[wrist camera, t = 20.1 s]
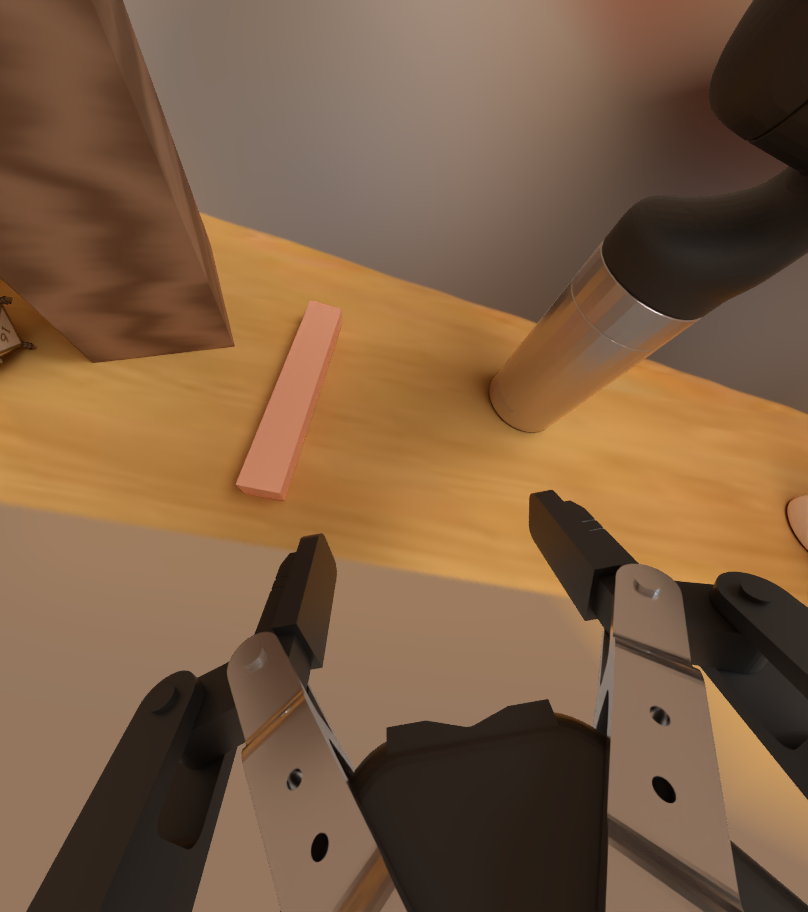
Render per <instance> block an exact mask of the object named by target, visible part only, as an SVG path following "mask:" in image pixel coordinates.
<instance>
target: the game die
mask: <svg viewBox="0 0 808 912" xmlns="http://www.w3.org/2000/svg"><path fill="white" fill-rule="evenodd" d="M11 301H12V298H10V297H6V296H2V297H0V357H2V356H4V355H5V354H7V353H9V352H11V351H13V350H14V349H16V348H18V347H20V346H25V347H26V348H29V349H33V348H37V347H36V346H34V345H33V344H32V343H28V342H22V340H21V338H20V337H19V335H18V333H17V331H16V329H15V327H14V325H13V323H12V322H11V320H10V318H9V316H8V314H7V312H6V310H5V308H4V307H3V305H2V304H7V305H8V303H10V304H11ZM0 363H3V358H0Z"/></svg>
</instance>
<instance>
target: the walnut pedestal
mask: <svg viewBox="0 0 808 912" xmlns="http://www.w3.org/2000/svg"><path fill="white" fill-rule="evenodd" d="M0 278H1V279H2V280H4V281H5V282H6V283H7V284H8V285H9V286H10V287H11V288H12V289H13V290H14V291H15V292H17V293H18V294H19V295H20V296H21V297H22V298H23V299H24V300H25V301H26V302H27V303H29V304H30V305H31V306H32V307H33V308H34V309H35V310H36V311H37V312H38V313H39V314H41V315H42V316H43V317H44V318H45V319H46V320H47V321H48V322H49V323H50V324H51V325H53V326H54V327H55V328H56V329H57V330H58V331H59V332H60V333H61V334H62V335H63V336H65V337H66V338H67V339H68V340H69V341H70V342H71V343H72V344H73V345H74V346H75V347H77V348H78V349H79V350H80V351H81V352H82V353H83V354H84V355H85V356H86V357H87V358H89V359H90V360H91V361H92V362H93V363H95V362H104V361H112V360H121V359H129V358H138V357H146V356H155V355H163V354H172V353H180V352H189V351H197V350H206V349H215V348H223V347H232V346H234V342H233V338H232V334H231V330H230V325H229V321H228V317H227V313H226V308H225V304H224V300H223V296H222V291H221V287H220V283H219V279H218V274H217V270H216V266H215V262H214V257H213V253H212V249H211V245H210V242H209V239H208V236H207V233H206V231H205V228H204V225H203V222H202V219H201V217H200V214H199V211H198V208H197V205H196V203H195V200H194V197H193V194H192V192H191V189H190V186H189V183H188V180H187V178H186V175H185V172H184V169H183V166H182V164H181V161H180V159H179V156H178V153H177V150H176V147H175V144H174V141H173V139H172V136H171V133H170V130H169V128H168V125H167V122H166V119H165V116H164V114H163V111H162V108H161V105H160V102H159V100H158V97H157V94H156V92H155V89H154V86H153V83H152V80H151V77H150V75H149V72H148V69H147V66H146V63H145V61H144V58H143V55H142V52H141V50H140V47H139V44H138V41H137V38H136V36H135V33H134V30H133V28H132V24H131V22H130V19H129V16H128V13H127V11H126V8H125V5H124V2H123V0H0Z"/></svg>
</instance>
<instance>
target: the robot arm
mask: <svg viewBox="0 0 808 912" xmlns="http://www.w3.org/2000/svg"><path fill="white" fill-rule="evenodd" d="M708 100H709V105H710V108H711V110H712V111H713V113H714V114H715V116H716V117H717V118H718V120H719V121H720V122H721V123H722V124H723V125H724V126H725V127H727V128H728V129H729V130H730V131H732V132H733V133H735V134H736V135H738V136H739V137H741V138H742V139H744V140H748V142H749V143H751V144H752V145H754V146H756V147H758V148H759V149H761V150H763V151H764V152H766V153H768V154H770V155H771V156H773V157H775V158H776V159H778V160H780V161H782V162H784V163H785V164H787V165H789V167H787V168H786V169H785V170H783V171H782V172H781V173H779V174H778V175H777V176H775V177H773V178H772V179H770V180H768V181H767V182H765V183H762V184H760V185H758V186H755V187H752V188H749V189H746V190H742V191H738V192H733V193H728V194H723V195H715V196H679V195H656V196H651V197H647V198H645V199H642V200H640V201H639V202H637V203H636V204H635V205H633V206H632V207H631V208H630V209H629V210H628V211H627V212H626V213H625V214H624V215H623V217H622V218H621V219H620V220H619V221H618V223H617V224H616V225H615V226H614V228H613V229H612V230H611V231H610V233H609V234H608V235H607V236H606V238H605V240H604V241H603V242H602V243H601V244H600V245H599V247H598V248H597V249H596V250H595V252H594V253H593V254H592V255H591V257H590V258H589V259H588V261H587V262H586V263H585V264H584V265H583V267H582V268H581V269H580V271H579V272H578V273H577V274H576V276H575V277H574V278H573V280H572V281H571V282H570V283H569V285H568V286H567V287H566V289H565V290H564V291H563V292H562V293H561V295H560V296H559V297H558V299H557V300H556V301H555V302H554V303H553V305H552V306H551V307H550V308H549V310H548V311H547V312H546V313H545V315H544V316H543V317H542V318H541V320H540V321H539V322H538V323H537V325H536V326H535V327H534V328H533V330H532V331H531V332H530V333H529V335H528V336H527V337H526V338H525V340H524V341H523V342H522V343H521V345H520V346H519V347H518V348H517V350H516V351H515V352H514V353H513V355H512V356H511V357H510V358H509V359H508V361H507V362H506V363H505V364H504V366H503V367H502V368H501V369H500V371H499V372H498V373H497V374H496V376H495V377H494V378H493V380H492V381H491V384H490V389H489V395H490V400H491V403H492V405H493V407H494V409H495V410H496V412H497V414H498V415H499V416H500V417H501V418H502V419H503V420H504V421H505V422H507V423H508V424H509V425H511V426H513V427H514V428H516V429H519V430H522V431H526V432H539V431H542V430H544V429H546V428H547V427H549V426H550V425H552V424H553V423H555V422H556V421H557V420H559V419H560V418H562V417H563V416H564V415H566V414H567V413H569V412H570V411H572V410H573V409H574V408H576V407H577V406H579V405H580V404H582V403H583V402H584V401H586V400H587V399H589V398H590V397H591V396H593V395H594V394H596V393H597V392H598V391H600V390H601V389H603V388H604V387H605V386H607V385H608V384H610V383H611V382H612V381H614V380H615V379H617V378H618V377H619V376H621V375H622V374H624V373H625V372H626V371H628V370H629V369H631V368H632V367H634V366H635V365H636V364H638V363H639V362H641V361H642V360H643V359H645V358H646V357H648V356H649V355H650V354H652V353H653V352H654V351H656V350H657V349H659V348H660V347H661V346H663V345H664V344H665V343H667V342H668V341H670V340H671V339H672V338H674V337H675V336H676V335H678V334H680V333H681V332H682V331H684V330H685V329H686V328H688V327H689V326H691V325H692V324H694V323H695V322H696V321H698V320H699V319H700V318H701V317H703V316H705V315H706V314H708V313H709V312H710V311H712V310H713V309H715V308H716V307H718V306H719V305H721V304H722V303H724V302H725V301H727V300H729V299H731V298H733V297H735V296H737V295H739V294H741V293H743V292H746V291H748V290H750V289H751V288H753V287H755V286H757V285H759V284H760V283H762V282H764V281H765V280H767V279H769V278H770V277H772V276H773V275H775V274H776V273H778V272H779V271H781V270H782V269H784V268H785V267H787V266H789V265H790V264H792V263H793V262H795V261H796V260H797V259H799V258H801V257H802V256H804V255H805V254H806V253H808V0H753V2H752V3H751V5H750V6H749V8H748V9H747V11H746V12H745V14H744V16H743V17H742V19H741V20H740V22H739V24H738V25H737V27H736V29H735V30H734V32H733V34H732V35H731V37H730V39H729V41H728V42H727V44H726V46H725V48H724V50H723V52H722V54H721V56H720V58H719V61H718V63H717V65H716V68H715V70H714V72H713V75H712V78H711V82H710V87H709V94H708ZM529 529H530V533H531V536H532V538H533V540H534V542H535V543H536V545H537V547H538V548H539V550H540V551H541V553H542V554H543V556H544V558H545V559H546V561H547V562H548V564H549V565H550V567H551V568H552V570H553V572H554V573H555V575H556V576H557V578H558V579H559V581H560V583H561V584H562V586H563V587H564V589H565V590H566V592H567V594H568V595H569V597H570V598H571V600H572V601H573V603H574V604H575V606H576V608H577V609H578V611H579V612H580V614H581V616H582V617H583V619H584V620H585V621H587V620H593V619H598V620H599V621H600V623H601V624H602V626H603V627H604V628H603V634H602V645H601V657H600V658H601V659H600V670H599V682H598V693H597V700H596V707H595V714H594V721H593V727H592V726H590V725H588V724H586V723H584V722H583V721H580V720H578V719H576V718H573V717H570V716H567V715H564V714H560V713H554V712H553V710H552V707H551V705H550V703H549V700H548V699H546V700H540V701H535V702H529V703H523V704H518V705H512V706H507V707H506V708H504V709H502V710H500V711H499V712H497V713H495V714H493V715H491V716H490V717H488V718H486V719H484V720H483V721H481V722H479V723H477V724H475V725H474V726H471V727H462V726H456V725H450V724H444V723H437V722H430V721H422V722H415V723H410V724H404V725H399V726H393V727H388V728H387V742H385V743H383V744H381V745H380V746H379V747H377V748H376V749H375V750H373V751H372V752H371V753H370V754H369V755H368V756H367V757H366V758H365V759H364V760H363V761H362V762H361V764H360V765H359V766H358V767H357V769H356V770H354V767H353V766H352V764H351V762H350V760H349V758H348V757H347V755H346V753H345V751H344V750H343V748H342V746H341V745H340V743H339V741H338V739H337V738H336V736H335V734H334V732H333V730H332V728H331V726H330V724H329V722H328V721H327V718H326V717H325V715H324V713H323V711H322V709H321V707H320V705H319V703H318V701H317V699H316V697H315V695H314V694H313V692H312V690H311V688H310V686H309V684H308V680H309V675H310V670H311V669H316V668H322V666H323V660H324V654H325V647H326V641H327V634H328V628H329V621H330V615H331V608H332V602H333V596H334V590H335V583H336V576H337V570H336V563H335V560H334V558H333V555H332V553H331V550H330V548H329V546H328V543H327V541H326V538H325V536H324V535H323V534H322V533H320V534H315V535H310V536H305V537H302V538H301V540H300V543H299V546H298V549H297V552H294V553H290V554H289V555H288V556H287V558H286V559H285V560H284V561H283V563H282V564H281V566H280V568H279V570H278V573H277V576H276V580H275V581H274V584H273V587H272V591H271V592H270V594H269V597H268V600H267V602H266V605H265V608H264V610H263V613H262V616H261V618H260V621H259V624H258V627H257V629H256V632H255V634H254V635H253V636H251V637H250V638H248V639H247V640H246V641H245V642H243V643H242V644H241V645H240V646H239V647H238V649H237V650H236V651H235V652H234V654H233V655H232V657H231V659H230V661H229V662H228V663H226V664H224V665H222V666H220V667H218V668H216V669H214V670H212V671H210V672H208V673H206V674H204V675H202V676H200V677H198V678H197V677H195V675H193V674H192V673H191V672H189V671H179V672H176V673H174V674H171V675H170V676H168V677H166V678H165V679H163V680H162V681H161V682H160V683H158V684H157V685H156V686H155V687H154V688H153V689H152V690H151V691H150V692H149V693H148V694H147V696H146V697H145V698H144V700H143V701H142V702H141V704H140V705H139V707H138V709H137V711H136V713H135V715H134V716H133V718H132V720H131V722H130V724H129V725H128V727H127V729H126V731H125V733H124V734H123V736H122V738H121V740H120V742H119V744H118V745H117V747H116V749H115V751H114V753H113V754H112V756H111V758H110V760H109V762H108V764H107V765H106V767H105V769H104V771H103V773H102V775H101V776H100V778H99V780H98V782H97V784H96V786H95V787H94V789H93V791H92V793H91V795H90V796H89V799H88V800H87V802H86V804H85V806H84V808H83V809H82V811H81V813H80V815H79V817H78V819H77V820H76V822H75V824H74V826H73V827H72V829H71V831H70V833H69V835H68V837H67V839H66V840H65V842H64V844H63V846H62V848H61V849H60V851H59V853H58V855H57V857H56V858H55V860H54V862H53V864H52V866H51V868H50V869H49V871H48V873H47V875H46V877H45V879H44V881H43V882H42V884H41V886H40V888H39V890H38V892H37V893H36V895H35V897H34V899H33V901H32V902H31V904H30V906H29V908H28V910H27V912H192V909H193V905H194V902H195V898H196V894H197V891H198V887H199V884H200V880H201V877H202V873H203V869H204V866H205V862H206V858H207V854H208V851H209V848H210V844H211V840H212V837H213V833H214V829H215V826H216V822H217V818H218V815H219V811H220V808H221V804H222V801H223V797H224V793H225V790H226V786H227V782H228V779H229V775H230V772H231V768H232V764H233V761H234V757H235V754H236V749H237V746H239V745H241V744H243V743H244V742H246V747H245V748H244V749H243V750H242V762H243V767H244V771H245V775H246V779H247V782H248V786H249V790H250V794H251V798H252V801H253V805H254V809H255V813H256V817H257V821H258V825H259V828H260V832H261V836H262V840H263V844H264V848H265V851H266V855H267V859H268V863H269V867H270V871H271V874H272V878H273V882H274V886H275V890H276V894H277V897H278V901H279V905H280V909H281V911H280V912H808V905H807V904H805V903H804V902H803V901H802V900H801V899H800V898H798V897H797V896H796V895H795V894H794V893H792V892H791V891H790V890H789V889H788V888H787V887H785V886H784V885H783V884H782V883H781V882H779V881H778V880H777V879H776V878H775V877H773V876H772V875H771V874H770V873H769V872H768V871H766V870H765V869H764V868H763V867H762V866H760V865H759V864H758V863H757V862H756V861H754V860H753V859H752V858H751V857H750V856H748V855H747V854H746V853H745V852H743V850H741V849H740V848H739V847H738V846H736V845H735V844H734V843H733V842H732V841H731V840H730V837H729V831H728V824H727V818H726V812H725V806H724V800H723V793H722V788H721V781H720V775H719V768H718V763H717V756H716V750H715V744H714V738H713V731H712V725H711V719H710V713H709V706H708V701H707V694H706V688H705V682H704V679H703V676H702V673H701V671H700V670H699V669H697V668H694V667H693V666H692V665H698V666H700V667H701V668H702V670H703V671H704V672H705V673H706V674H707V676H708V677H709V678H710V679H711V681H712V682H713V683H714V684H715V686H716V687H717V688H718V689H719V691H720V692H721V693H722V694H723V696H724V697H725V698H726V699H727V700H728V701H729V703H730V704H731V705H732V707H733V708H734V709H735V710H736V712H737V713H738V714H739V715H740V717H741V718H742V719H743V720H744V722H745V723H746V724H747V725H748V726H749V728H750V729H751V730H752V731H753V733H754V734H755V735H756V736H757V737H758V739H759V740H760V741H761V743H762V744H763V745H764V746H765V747H766V749H767V750H768V751H769V752H770V754H771V755H772V756H773V757H774V759H775V760H776V761H777V762H778V764H779V765H780V766H781V767H782V769H783V770H784V771H785V772H786V773H787V775H788V776H789V777H790V778H791V780H792V781H793V782H794V783H795V784H796V786H797V787H798V788H799V789H800V791H801V792H802V793H803V795H804V796H805V797H806V798H807V799H808V607H806V606H805V605H804V604H802V603H801V602H800V601H798V600H797V599H796V598H794V597H793V596H792V595H791V594H789V593H788V592H787V591H785V590H784V589H782V588H781V587H779V586H778V585H776V584H774V583H772V582H770V581H768V580H766V579H763V578H761V577H758V576H755V575H752V574H748V573H742V572H726V573H723V574H721V575H719V576H718V578H717V579H716V581H715V584H714V585H712V584H701V583H690V582H680V581H674V580H673V579H672V578H670V577H669V576H668V575H666V574H665V573H663V572H662V571H660V570H658V569H655V568H653V567H650V566H647V565H642V564H639V563H638V562H636V561H635V559H634V558H633V557H632V556H631V555H630V554H629V553H628V552H627V551H626V550H625V549H624V548H623V547H622V546H621V545H620V544H619V543H618V542H617V541H616V540H615V539H614V538H613V537H612V536H611V535H610V534H609V533H608V532H607V531H606V530H605V529H603V527H602V526H601V525H600V524H599V523H598V522H597V521H595V519H594V518H593V517H592V516H591V515H590V513H589V512H588V511H587V510H586V509H585V508H583V507H581V506H579V505H577V504H576V503H574V502H572V501H565V502H564V501H563V500H562V499H561V498H560V497H559V496H558V495H557V494H556V493H555V492H554V491H553V490H548V491H542V492H537V493H532V494H531V495H530V499H529Z"/></svg>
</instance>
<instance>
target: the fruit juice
mask: <svg viewBox="0 0 808 912" xmlns="http://www.w3.org/2000/svg"><path fill="white" fill-rule="evenodd" d="M787 514H788V519H789V522H790V525H791V527H792V529H793V531H794V533H795V535H796V536H797V538H798V539H799V541H800V542H801V543H802V544H803V546H804V547H805V548H806V549H807V550H808V495H804V496H800V497H797V498H795V499H793V500H791V501H790V503H789V504H788V508H787Z"/></svg>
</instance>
